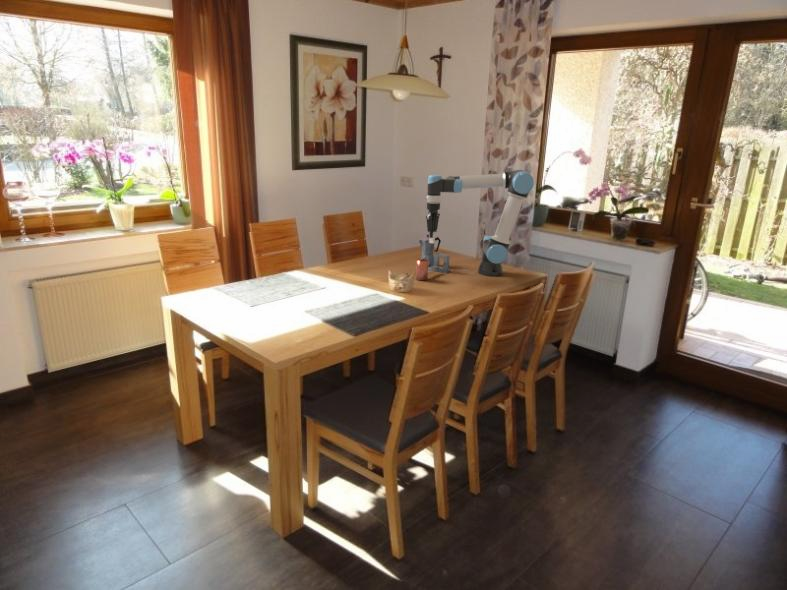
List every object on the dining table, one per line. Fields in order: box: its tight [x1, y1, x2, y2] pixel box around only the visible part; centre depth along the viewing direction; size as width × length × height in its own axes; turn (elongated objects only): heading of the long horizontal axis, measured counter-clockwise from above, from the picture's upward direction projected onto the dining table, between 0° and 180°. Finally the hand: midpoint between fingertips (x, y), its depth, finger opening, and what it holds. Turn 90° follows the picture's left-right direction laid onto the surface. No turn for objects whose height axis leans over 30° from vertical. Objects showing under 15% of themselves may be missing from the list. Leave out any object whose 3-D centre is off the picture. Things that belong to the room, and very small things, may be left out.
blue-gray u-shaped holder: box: [432, 252, 451, 274], centre depth 340 cm, size 10×6×11 cm, turn 58°
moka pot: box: [417, 234, 442, 268], centre depth 351 cm, size 10×15×20 cm, turn 115°
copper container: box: [415, 257, 437, 281], centre depth 326 cm, size 7×21×12 cm, turn 148°
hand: (431, 242), depth 323 cm, fingers closed
